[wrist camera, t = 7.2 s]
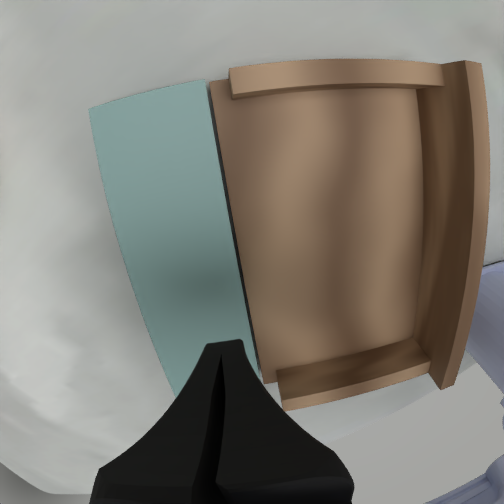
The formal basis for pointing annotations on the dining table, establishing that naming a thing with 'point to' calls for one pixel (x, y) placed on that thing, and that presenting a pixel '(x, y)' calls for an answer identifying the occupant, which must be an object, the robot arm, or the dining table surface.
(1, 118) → the dining table surface
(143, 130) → the panel
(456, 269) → the brown wooden drawer
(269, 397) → the robot arm
